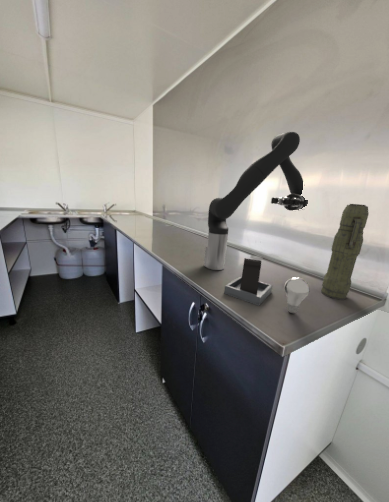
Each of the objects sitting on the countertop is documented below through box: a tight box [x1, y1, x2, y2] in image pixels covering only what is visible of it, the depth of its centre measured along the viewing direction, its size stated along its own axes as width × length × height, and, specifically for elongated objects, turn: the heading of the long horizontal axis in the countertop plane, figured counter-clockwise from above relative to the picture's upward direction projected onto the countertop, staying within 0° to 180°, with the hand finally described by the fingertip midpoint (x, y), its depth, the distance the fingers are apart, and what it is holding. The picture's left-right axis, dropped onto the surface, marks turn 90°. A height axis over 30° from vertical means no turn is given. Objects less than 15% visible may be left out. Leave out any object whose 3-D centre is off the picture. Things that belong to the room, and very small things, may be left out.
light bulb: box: [283, 276, 310, 315], centre depth 66 cm, size 7×7×12 cm
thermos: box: [320, 203, 370, 301], centre depth 80 cm, size 9×12×35 cm
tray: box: [223, 275, 273, 306], centre depth 80 cm, size 13×14×3 cm
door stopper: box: [240, 257, 262, 295], centre depth 79 cm, size 9×6×12 cm, turn 165°
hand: (284, 201), depth 87 cm, fingers open, 8 cm apart
